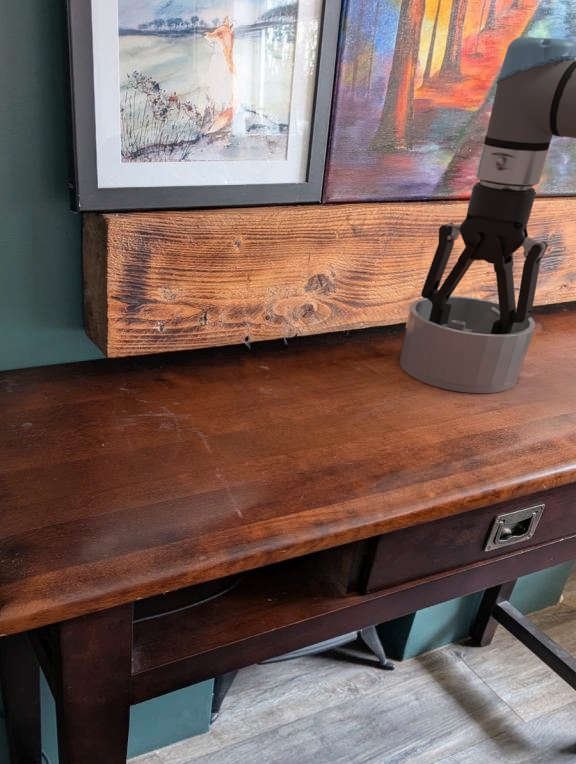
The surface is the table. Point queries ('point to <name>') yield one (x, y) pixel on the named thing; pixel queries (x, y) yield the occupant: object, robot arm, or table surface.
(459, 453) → the table surface
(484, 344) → the canister
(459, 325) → the lighter
